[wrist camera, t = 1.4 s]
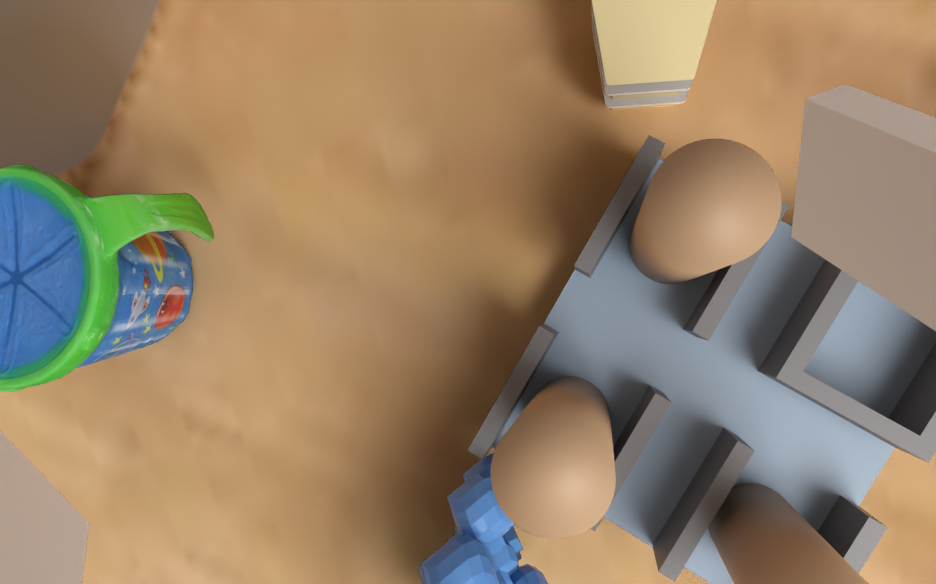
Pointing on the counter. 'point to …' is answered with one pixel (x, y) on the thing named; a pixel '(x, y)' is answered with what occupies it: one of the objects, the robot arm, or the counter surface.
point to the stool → (712, 384)
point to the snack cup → (87, 273)
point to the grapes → (479, 539)
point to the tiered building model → (648, 49)
